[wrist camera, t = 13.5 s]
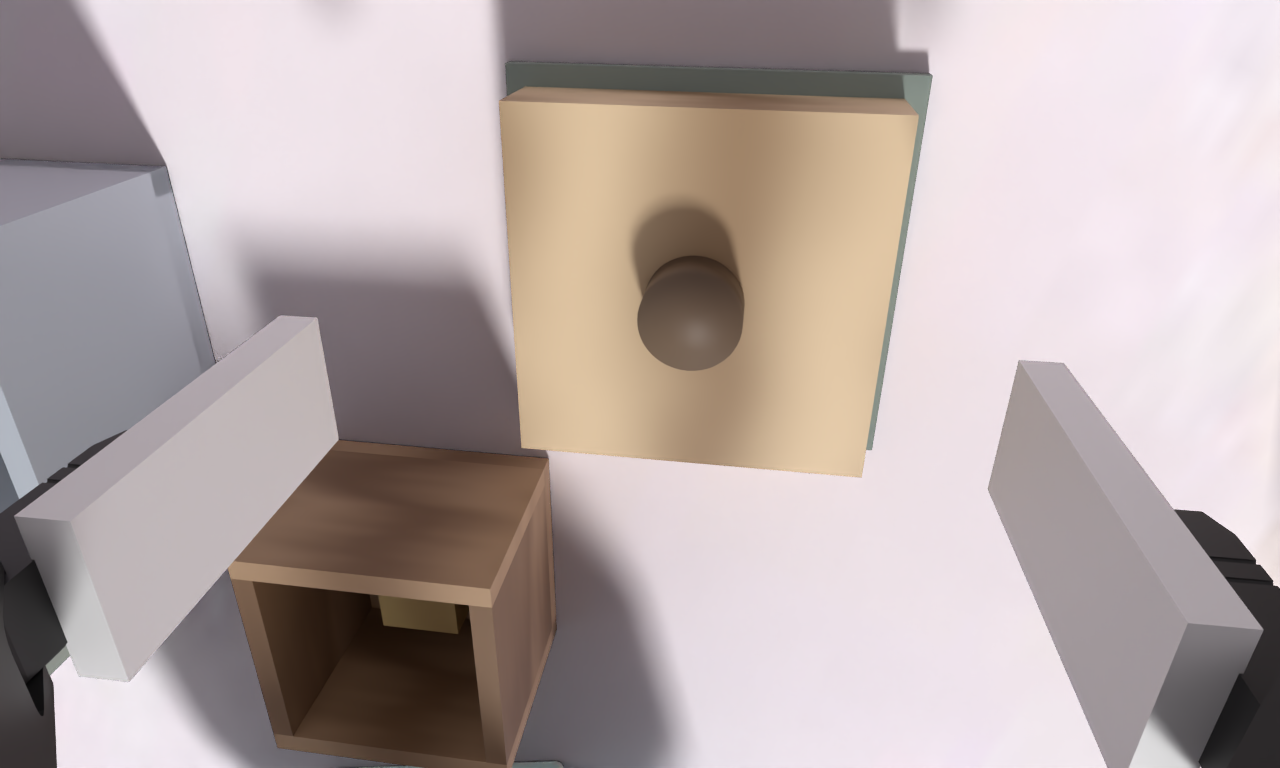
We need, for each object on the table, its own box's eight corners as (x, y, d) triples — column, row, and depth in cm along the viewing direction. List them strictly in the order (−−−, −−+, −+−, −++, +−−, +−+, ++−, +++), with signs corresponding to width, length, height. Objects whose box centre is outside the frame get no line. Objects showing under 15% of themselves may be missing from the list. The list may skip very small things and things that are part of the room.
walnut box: (365, 607, 30) (277, 747, 25) (334, 439, 27) (225, 560, 21) (556, 628, 29) (508, 779, 24) (548, 458, 26) (490, 589, 21)
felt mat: (530, 414, 25) (527, 421, 25) (509, 61, 21) (505, 63, 20) (870, 443, 24) (871, 450, 24) (929, 73, 19) (932, 76, 19)
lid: (541, 408, 25) (508, 472, 22) (525, 86, 20) (482, 110, 17) (854, 433, 23) (866, 504, 20) (904, 98, 19) (928, 126, 16)
